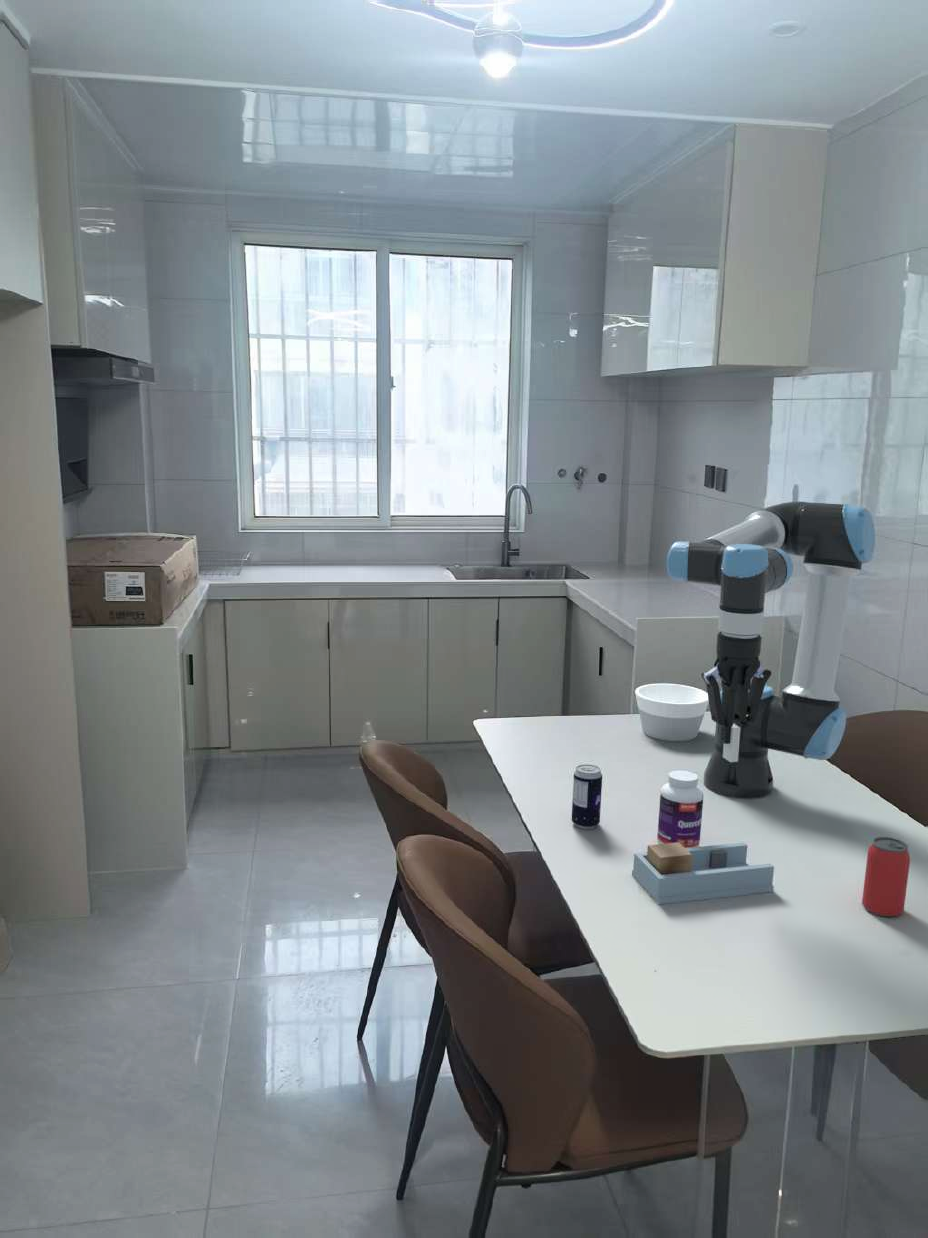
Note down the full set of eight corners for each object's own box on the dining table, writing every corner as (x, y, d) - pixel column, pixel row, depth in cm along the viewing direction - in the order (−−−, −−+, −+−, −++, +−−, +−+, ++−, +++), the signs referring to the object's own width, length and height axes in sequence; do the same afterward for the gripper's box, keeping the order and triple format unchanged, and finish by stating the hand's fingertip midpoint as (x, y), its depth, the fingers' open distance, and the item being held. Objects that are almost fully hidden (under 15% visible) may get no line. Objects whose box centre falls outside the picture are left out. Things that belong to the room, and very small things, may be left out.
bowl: (632, 741, 249) (635, 701, 246) (632, 718, 267) (635, 681, 265) (709, 747, 246) (713, 706, 243) (704, 724, 264) (707, 685, 262)
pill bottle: (677, 858, 183) (682, 786, 180) (648, 842, 189) (652, 772, 186) (708, 849, 187) (714, 778, 184) (678, 834, 194) (683, 765, 191)
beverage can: (598, 831, 194) (601, 775, 191) (570, 828, 195) (572, 772, 192) (600, 820, 199) (603, 765, 197) (572, 817, 200) (575, 762, 198)
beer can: (900, 922, 161) (908, 855, 159) (858, 911, 165) (865, 845, 162) (906, 906, 167) (914, 841, 164) (865, 895, 170) (872, 832, 168)
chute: (740, 863, 181) (742, 841, 180) (773, 891, 171) (775, 867, 170) (631, 875, 176) (633, 852, 175) (658, 904, 165) (660, 880, 164)
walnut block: (676, 873, 175) (678, 842, 173) (689, 886, 170) (692, 854, 169) (645, 876, 173) (647, 845, 172) (658, 889, 168) (660, 857, 167)
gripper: (760, 626, 176) (750, 748, 182) (695, 630, 173) (687, 755, 178) (784, 635, 169) (773, 763, 175) (717, 640, 166) (708, 770, 171)
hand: (730, 759), depth 176 cm, fingers closed
